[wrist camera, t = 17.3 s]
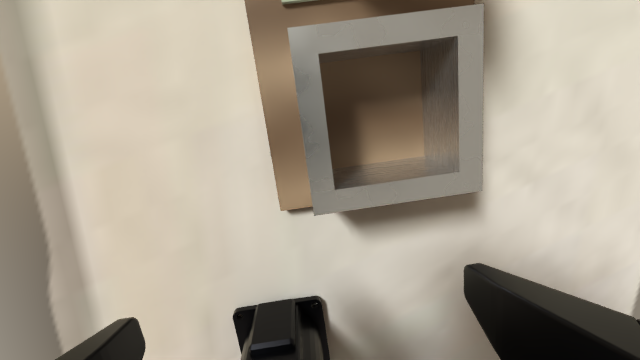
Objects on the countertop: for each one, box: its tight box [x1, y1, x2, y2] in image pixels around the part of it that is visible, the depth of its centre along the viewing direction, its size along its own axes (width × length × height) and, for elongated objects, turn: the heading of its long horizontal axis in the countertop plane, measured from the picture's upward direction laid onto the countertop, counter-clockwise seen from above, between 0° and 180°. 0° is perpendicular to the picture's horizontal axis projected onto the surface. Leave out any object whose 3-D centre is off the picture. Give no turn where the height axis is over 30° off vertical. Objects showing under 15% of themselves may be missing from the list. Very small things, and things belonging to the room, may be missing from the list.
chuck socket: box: [287, 3, 484, 216], centre depth 17 cm, size 9×9×4 cm
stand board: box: [245, 0, 474, 211], centre depth 18 cm, size 22×13×1 cm, turn 7°
